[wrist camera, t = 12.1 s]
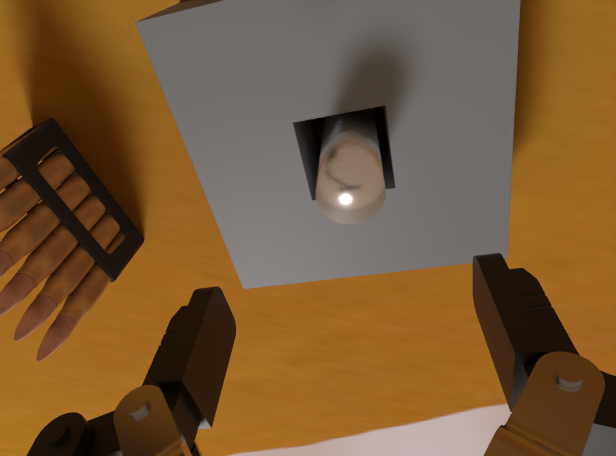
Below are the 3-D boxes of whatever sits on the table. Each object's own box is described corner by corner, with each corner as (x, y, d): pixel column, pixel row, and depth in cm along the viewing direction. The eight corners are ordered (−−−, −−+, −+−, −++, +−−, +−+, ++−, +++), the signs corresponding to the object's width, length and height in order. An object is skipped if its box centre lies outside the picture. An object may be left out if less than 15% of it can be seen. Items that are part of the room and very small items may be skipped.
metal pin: (330, 139, 28) (322, 228, 19) (321, 94, 26) (308, 170, 18) (376, 131, 27) (389, 219, 19) (370, 84, 25) (381, 158, 17)
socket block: (259, 234, 32) (243, 289, 27) (179, 3, 24) (134, 22, 19) (480, 203, 29) (507, 258, 24) (482, -74, 21) (524, -75, 16)
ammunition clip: (145, 240, 34) (62, 368, 24) (126, 246, 34) (37, 374, 24) (52, 117, 28) (-104, 218, 18) (32, 126, 29) (-132, 229, 19)
